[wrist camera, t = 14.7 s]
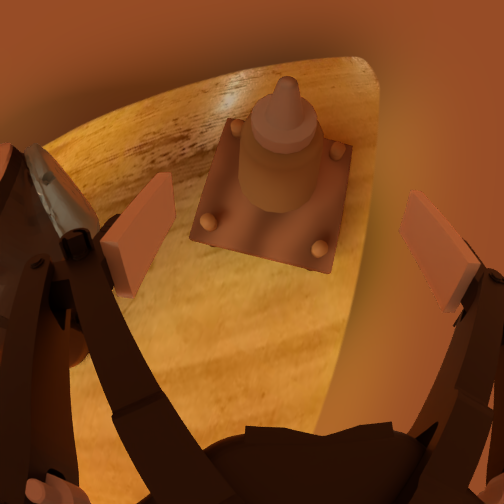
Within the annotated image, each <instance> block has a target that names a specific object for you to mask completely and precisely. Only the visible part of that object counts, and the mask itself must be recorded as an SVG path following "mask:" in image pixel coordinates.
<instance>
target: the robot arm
mask: <svg viewBox="0 0 504 504" xmlns="http://www.w3.org/2000/svg"><path fill="white" fill-rule="evenodd" d="M175 218H176V213H175V204H174V195H173V185H172V174H171V172H166V173H157V174H156V175H155V177H154V178H153V179H152V180H151V181H150V182H149V183H148V184H147V185H146V186H145V188H144V189H143V190H142V191H141V192H140V193H139V194H138V195H137V197H136V198H135V199H134V200H133V201H132V202H131V203H130V205H129V206H128V207H127V208H126V209H125V211H124V212H123V213H122V214H116V215H115V216H113V217H112V218H110V219H109V220H108V221H107V222H106V223H105V224H104V226H103V227H102V228H101V229H100V225H99V220H98V218H97V215H96V213H95V212H94V210H93V208H92V207H91V205H90V204H89V202H88V201H87V200H86V198H85V197H84V195H83V194H82V193H81V191H80V190H79V189H78V187H77V186H76V185H75V183H74V182H73V181H72V180H71V178H70V177H69V176H68V175H67V173H66V172H65V171H64V170H63V168H62V167H61V166H60V165H59V164H58V163H57V161H56V160H55V159H54V158H53V157H52V156H51V155H50V154H49V153H48V152H47V151H46V150H45V149H43V148H42V147H41V145H39V144H37V143H36V144H32V145H31V146H30V147H27V148H26V149H25V151H24V153H21V152H20V151H19V150H18V149H16V148H15V147H14V146H13V145H12V144H10V143H8V142H7V143H3V144H0V504H91V503H90V500H89V498H88V496H87V495H86V493H85V492H84V491H83V490H82V489H81V488H79V471H78V462H77V455H76V448H75V441H74V432H73V423H72V412H71V398H70V374H69V368H71V367H74V366H76V365H78V364H79V363H80V362H81V361H83V359H84V358H85V357H86V355H87V354H88V352H89V353H90V356H91V359H92V361H93V364H94V367H95V370H96V373H97V375H98V378H99V380H100V383H101V386H102V388H103V391H104V393H105V395H106V398H107V400H108V403H109V405H110V407H111V410H112V413H113V415H112V416H111V417H112V421H113V423H114V426H115V428H116V430H117V432H118V435H119V437H120V439H121V441H122V443H123V445H124V447H125V449H126V451H127V452H128V454H129V456H130V458H131V460H132V462H133V464H134V465H135V467H136V469H137V471H138V473H139V474H140V476H141V478H142V479H143V481H144V483H145V485H146V486H147V488H148V489H149V491H150V494H149V495H148V496H146V497H145V498H144V499H142V500H141V501H140V502H138V503H137V504H504V277H503V276H502V275H501V274H500V273H499V272H497V271H496V270H494V269H490V268H486V267H485V266H484V264H483V263H482V261H481V260H480V259H479V257H478V256H477V255H476V254H475V252H474V251H473V249H471V247H470V246H469V244H468V243H467V242H466V241H465V240H464V239H463V238H461V236H460V235H459V234H458V233H457V231H456V230H455V229H454V228H453V227H452V225H451V224H450V223H449V222H448V221H447V219H446V218H445V217H444V216H443V215H442V214H441V212H440V211H439V210H438V209H437V208H436V207H435V206H434V204H433V203H432V202H431V201H430V200H429V199H428V198H427V197H426V196H425V195H424V194H423V192H422V191H415V190H410V194H409V198H408V202H407V205H406V209H405V212H404V216H403V219H402V222H401V226H400V230H399V233H400V234H401V236H402V238H403V239H404V241H405V243H406V244H407V246H408V248H409V249H410V251H411V253H412V255H413V257H414V258H415V260H416V262H417V264H418V266H419V268H420V270H421V271H422V273H423V275H424V277H425V279H426V281H427V283H428V285H429V287H430V289H431V291H432V293H433V295H434V297H435V299H436V301H437V303H438V305H439V307H440V309H441V311H442V313H449V312H455V311H456V309H457V307H458V306H459V304H460V302H461V304H462V305H463V307H464V309H463V310H462V312H461V314H460V315H459V317H458V319H457V320H456V322H455V323H454V325H453V326H454V327H455V326H456V328H455V331H454V334H453V337H452V340H451V343H450V345H449V348H448V351H447V353H446V356H445V358H444V361H443V363H442V366H441V368H440V371H439V373H438V375H437V378H436V380H435V382H434V385H433V387H432V389H431V391H430V393H429V395H428V397H427V400H426V401H425V403H424V405H423V407H422V410H421V412H420V413H419V415H418V417H417V419H416V421H415V423H414V425H413V426H412V428H411V429H410V431H409V432H408V433H407V434H404V433H402V432H398V431H394V430H393V427H392V422H385V423H377V424H367V425H359V426H356V427H353V428H349V429H346V430H343V431H340V432H337V433H334V434H330V435H327V436H318V435H314V434H309V433H305V432H300V431H296V430H292V429H288V428H280V427H256V426H246V427H245V434H240V435H235V436H231V437H228V438H225V439H222V440H220V441H217V442H215V443H214V444H212V445H210V446H208V447H207V448H205V449H204V450H202V449H201V447H200V446H199V445H198V443H197V442H196V440H195V439H194V437H193V436H192V435H191V433H190V432H189V430H188V429H187V427H186V426H185V424H184V423H183V421H182V420H181V418H180V417H179V415H178V413H177V412H176V410H175V409H174V407H173V406H172V404H171V402H170V401H169V399H168V398H167V396H166V395H165V393H164V392H163V391H162V390H161V388H160V386H159V385H158V383H157V381H156V379H155V378H154V376H153V374H152V372H151V370H150V369H149V367H148V365H147V363H146V361H145V359H144V358H143V356H142V354H141V352H140V350H139V348H138V346H137V344H136V342H135V340H134V338H133V336H132V334H131V332H130V330H129V328H128V326H127V324H126V322H125V320H124V317H123V315H122V313H121V311H120V309H119V307H118V304H117V302H116V300H115V298H114V295H113V293H112V291H111V290H112V289H113V287H115V290H116V293H117V296H118V297H126V298H134V297H135V295H136V293H137V291H138V289H139V287H140V285H141V283H142V281H143V279H144V277H145V275H146V273H147V271H148V269H149V267H150V265H151V263H152V261H153V259H154V257H155V255H156V253H157V251H158V249H159V247H160V246H161V244H162V242H163V240H164V238H165V236H166V234H167V233H168V231H169V229H170V227H171V225H172V224H173V222H174V220H175ZM493 383H494V409H493V410H492V409H490V408H489V407H488V402H489V399H490V394H491V391H492V387H493ZM492 421H493V423H492ZM491 424H492V433H491V442H490V449H489V456H488V464H487V476H486V488H485V490H484V491H482V492H481V493H479V495H478V496H476V495H475V494H474V493H473V492H472V491H471V490H470V489H469V488H468V486H469V484H470V481H471V479H472V477H473V474H474V472H475V469H476V467H477V465H478V462H479V459H480V457H481V454H482V451H483V449H484V446H485V443H486V440H487V437H488V434H489V431H490V427H491Z"/></svg>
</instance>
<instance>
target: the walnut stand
mask: <svg viewBox="0 0 504 504" xmlns="http://www.w3.org/2000/svg"><path fill="white" fill-rule="evenodd" d="M244 122H245V121H243V120H240V119H231V118H227V121H226V124H225V127H224V130H223V132H222V135H221V138H220V141H219V144H218V147H217V150H216V153H215V156H214V159H213V162H212V165H211V168H210V171H209V174H208V177H207V180H206V183H205V186H204V189H203V192H202V196H201V199H200V202H199V205H198V209H197V212H196V215H195V219H194V222H193V225H192V229H191V232H190V236H189V239H190V240H192V241H195V242H199V243H203V244H207V245H210V246H211V247H219V248H224V249H228V250H232V251H236V252H240V253H244V254H248V255H252V256H256V257H260V258H264V259H268V260H272V261H276V262H280V263H285V264H289V265H293V266H297V267H301V268H305V269H307V270H309V271H317V272H321V273H325V274H330V273H331V270H332V265H333V261H334V256H335V251H336V246H337V241H338V236H339V230H340V225H341V219H342V214H343V208H344V202H345V196H346V190H347V183H348V176H349V170H350V162H351V155H352V147H353V146H351V145H347V144H344V143H341V142H337V141H333V140H329V139H326V138H323V151H322V157H321V163H320V169H319V174H318V180H317V185H316V189H315V190H314V192H313V194H312V196H311V198H310V200H309V201H307V202H306V203H305V204H303V205H302V206H301V207H300V208H298V209H296V210H292V211H289V212H285V213H276V212H267V211H264V210H262V209H261V208H259V207H257V206H255V205H253V204H252V203H251V202H250V201H249V200H248V199H247V197H246V196H245V195H244V194H243V193H242V190H241V186H240V183H239V179H238V172H239V153H240V137H241V131H242V125H243V123H244Z"/></svg>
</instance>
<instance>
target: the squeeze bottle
mask: <svg viewBox="0 0 504 504" xmlns="http://www.w3.org/2000/svg"><path fill="white" fill-rule="evenodd" d="M323 135H324V134H323V131H322V129H321V127H320V125H319V122H318V121H317V115H316V112H315V110H314V108H313V106H312V105H311V104H310V103H309V102H307V101H306V100H305V99H304V98H302V97H300V92H299V87H298V82H297V80H296V79H294V78H293V77H289V76H285V77H282V78H280V79H279V81H278V83H277V85H276V88H275V90H274V92H273V94H269V95H267V96H265V97H263V98H262V99H260V100H259V101H258V102H257V103H256V105H255V106H254V107H253V109H252V113H251V114H250V115H249V116H248V118H247V119H246V120H245V122H244V123H243V125H242V131H241V137H240V153H239V172H238V179H239V183H240V186H241V190H242V193H243V194H244V195H245V196H246V197H247V199H248V200H249V201H250V202H251V203H252V204H253V205H255V206H257V207H259V208H261V209H262V210H264V211H267V212H276V213H285V212H289V211H292V210H296V209H298V208H300V207H301V206H302V205H303V204H305V203H306V202H307V201H309V200H310V198H311V196H312V194H313V192H314V190H315V189H316V185H317V180H318V174H319V169H320V163H321V157H322V151H323Z"/></svg>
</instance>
